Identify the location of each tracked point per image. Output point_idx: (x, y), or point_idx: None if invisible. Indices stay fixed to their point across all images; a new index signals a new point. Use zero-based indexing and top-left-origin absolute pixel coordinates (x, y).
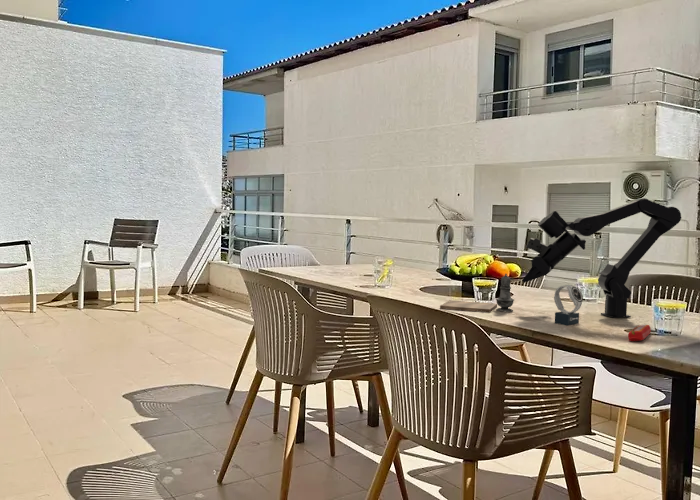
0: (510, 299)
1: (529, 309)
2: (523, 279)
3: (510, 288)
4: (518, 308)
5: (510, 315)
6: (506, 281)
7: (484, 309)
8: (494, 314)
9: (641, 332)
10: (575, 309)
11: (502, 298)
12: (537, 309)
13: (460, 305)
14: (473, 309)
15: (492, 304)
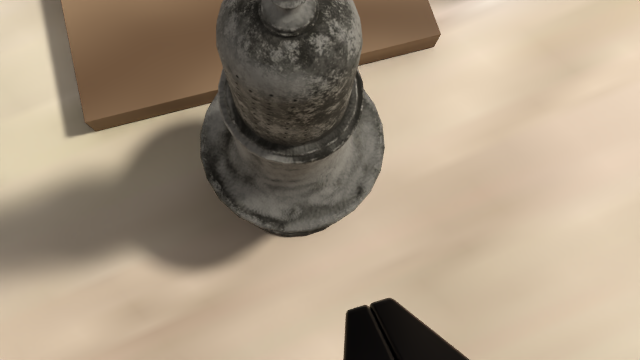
0: (269, 205)
1: (512, 300)
2: (347, 340)
3: (286, 163)
4: (489, 206)
5: (59, 321)
6: (230, 86)
7: (77, 81)
8: (24, 197)
9: None
10: None
11: (226, 136)
12: (570, 354)
13: None
14: (65, 6)
15: (369, 24)
